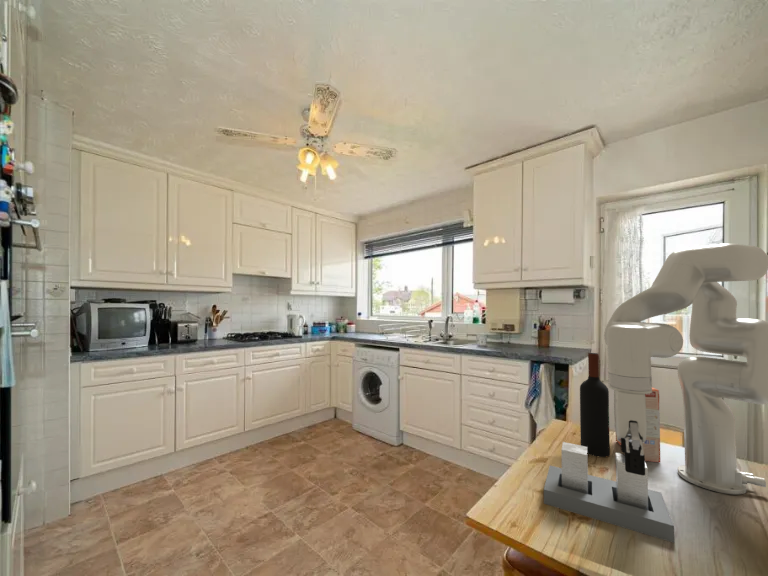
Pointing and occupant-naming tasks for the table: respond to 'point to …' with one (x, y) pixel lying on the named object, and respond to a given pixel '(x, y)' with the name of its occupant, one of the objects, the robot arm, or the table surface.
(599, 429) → the wine bottle
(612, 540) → the table surface
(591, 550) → the table surface
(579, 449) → the block
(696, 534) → the table surface
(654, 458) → the cracker box
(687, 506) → the table surface
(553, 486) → the tray
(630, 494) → the loose billet
